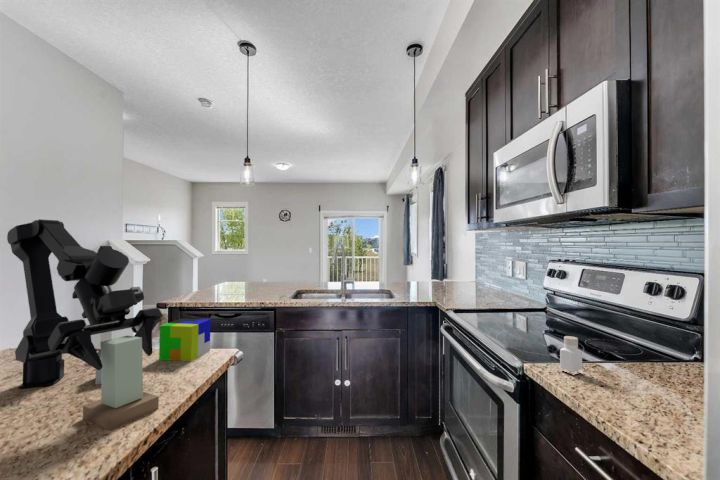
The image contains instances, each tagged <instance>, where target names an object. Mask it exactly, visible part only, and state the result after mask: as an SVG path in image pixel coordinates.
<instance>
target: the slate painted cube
mask: <svg viewBox="0 0 720 480" xmlns="http://www.w3.org/2000/svg"><path fill="white" fill-rule="evenodd" d="M100 359H101V358H100ZM95 385H101V370H97V369H95Z"/></svg>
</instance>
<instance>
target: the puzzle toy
mask: <svg viewBox="0 0 720 480" xmlns="http://www.w3.org/2000/svg"><path fill="white" fill-rule="evenodd" d="M158 344H159V346H158V348H159V350H158V352H159V353H158V360H159V361H178V360H183V361H184V360H185V361H184V362H192V361H194V360H196V359H198V358H199V357H201V356H203V355H204V354H206V353H208V352H210V351H211V319H210V318H209V319H208V318H207V319H205V318H204V319H203V318H179V319H178V318H177V319H176V320H173V321H170V322H166V323H164V324H160V325H159V343H158ZM207 351H208V352H207ZM197 357H198V358H197ZM195 358H196V359H195ZM183 361H182V362H183Z"/></svg>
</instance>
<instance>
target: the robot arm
mask: <svg viewBox="0 0 720 480" xmlns="http://www.w3.org/2000/svg"><path fill="white" fill-rule="evenodd" d="M6 238H7V239H6V240H7V243H8V244H9V245H10V249H11V253H12V254H13V255H14V256H15V257H16V258H17V259H19V260H20V261H21V262H22V266H23V272H24V273H23V274H24V279H25V280H24V281H25V286H26V287H25V288H26V293H27V302H28V307H29V315H30V316H29V317H30V320H29V321H28V322H27V324H26V326H25V327H24V329H23V331H22V338H21V340H20V342H19V343H18V345H17V347H16V349H15V350H14V353H15V360H16V361H18V362H20V363H22V383H21V384H20V385H18V389H26V388H34V387H35V388H36V387H42V386H51V385H55V384H56V383H57V382H59V380H61V379H62V378H63V377H64V376H65V359H64V358H63V355H65V354H69V355H71V356H73V357H74V358H77V359H79V360H81V361H82V362H84V363H86V364H87V365H89V366H91V367H92V368H94V369H95V370H96V369H97V370H101V368H102V367H103V366H102V363H101V359H100V357H99V355H98V351H96V347H95V346H94V344H93V341H92V336H93V335H97V334H99V335H100V334H106V333H112V332H116V331H122V330H127V329H131V330H132V333H135V334H134V335H133V336H134V337H141V338H142V351H143V352H144V353H145V354H146V355H147V356H148V357H150V356H151V355H152V354H153V330H154V329H155V327H156V326H157V325H158V323H159V322H160V320H161V319H162V318H163V316H164V314H163V312H162V310H161V309H160V308H159V307H151V308H144V309H139V311H138V312H137V314H136V315H135V317H130V318H126V316H128V315H129V314H131V313H130V312H131V309H130V308H132V307H133V306H136V305H137V304H139V303H140V302H142V301H144V300H145V295H144V292H143V290H142V288H141V287H140V286H133V287H132V286H131V287H130V288H129V289H120V290H119V289H118V290H112V288H111V286H113V285H115V284H116V283H117V282H118V281H119V279H120V278H121V276H122V274H123V273H124V271H125V269H126V268H127V267H128V266H129V262H130V260H129V257H128V256H127V255H125V253H123V252H122V251H119V250H117V249H113V247H112V245H100V246H99V248H98V250H97V252H96V251H94V250H91V249H88V248H85V247H83V246H81V244H79V242H78V241H77V240H76V239H75V238H74V237H73V235H71V234H70V232H69V231H68V230H67V229H66V228H65V225H64V223H63V222H62V221H61V220H56V219H55V220H54V219H38V220H37V219H36V220H33V221H32V222H28V223H23V224H19V225H18V224H17V225H15V226H14V227H12V228H11V229H9V231H8V232H7V236H6ZM51 254H53V256H54V257H55V258H56V259H57V261H58V263H57V265H56V266H57V267H56V270H57V275H58V276H59V277H60V278H61V279H62V280H63V281H65V282H75V281H76V283H75V285H74V287H73V292H72V296H71V297H72V299H78V301H79V303H80V306H81V307H82V309H83V312H82V313H81V317H82V319H75V320H69V317H67V316H62V315H60V313H59V312H58V309H57V303H56V298H55V291H54V285H53V278H52V277H53V276H52V271H51V265H50V259H49V258H50V256H51ZM85 319H87V321H88V323H89V324H87V323H86V320H85Z"/></svg>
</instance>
